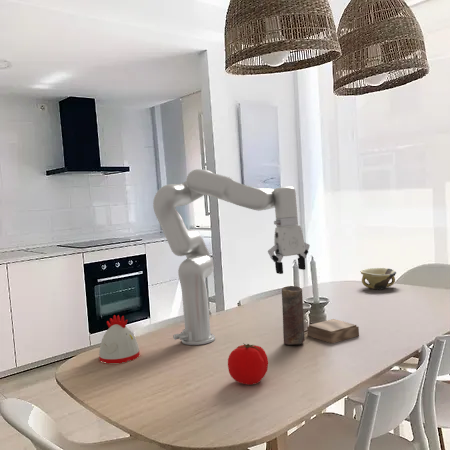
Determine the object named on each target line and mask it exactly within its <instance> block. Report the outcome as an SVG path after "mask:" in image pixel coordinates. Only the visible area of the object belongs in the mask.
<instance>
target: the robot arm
mask: <svg viewBox="0 0 450 450" xmlns="http://www.w3.org/2000/svg"><path fill="white" fill-rule="evenodd" d="M185 179H186V180H185V181H184V182H182V183H169V184H166V185H162V187H160V188H159V189H158V190H157V191H156V193H155V195H154V198H153V205H152V206H153V211H154V216H156V219H157V221H158V223H159V225H160V227H161V229H162V232H163V235H164V236H165V238H166V240H167V244H168V245H169V248H170V250H171V252H172V253H173V254H174V255H175V256H177V257H186V259H184V260H183V261H182V262H181V263H180V264H179V266H178V269H177V270H178V271H177V273H178V281H179V284H180V289H181V296H182V297H181V299H182V307H183V308H182V309H183V320H184V321H183V323H184V329H182V332H180V333H175V334H173V335H172V337H173V340H174V341H175V340H180V341H181V342H182V344H184V345H187V346H200V345H205V344H209V343H212V342H214V341H215V339H216V336H215V334H213V333H211V323H210V322H211V321H210V309H209V296H208V290H207V284H206V282H205V279H207V278H208V277H210V276H211V275H212V273H213V272H214V268H215V267H214V260H213V257H212V256H211V254H210V251H209V249H208V247H207V245H206V243H205V241H204V238H203V237H202V235H201V234H200V233H199V231H197V230H195V229H190V228H187V226H186V224H185V222H184V219H183V218H182V216H181V214H180V213H179V212H178V210H177V209H176V208H177V207H183V206H184V207H185V206H187V205H190V204H191V203H193V202H195V201H196V200H198V199H201V198H202V197H204V196H208V197H212V198H214V199H215V198H216V199H219V200H221V201H225V202H227V203H230V204H233V205H236V206H240V207H243V208H246V209H249V210H252V211H258V212H259V211H266V210H271V209H274V211H275V212H274V213H275V220H274V221H273V225H276V227H275V229H274V239H273V240H274V242H273V243H274V245H273V246H272V247H271V248H269V249H268V250H267V254H268V255H269V257H270V259H271V260H272V261H273V262H274V263H275V264H274V265H275V272H276V274H279V275H283V274H284V265H283V262H282V260H283V258H284V257H290V256H298V257H297V266H298V269H299V270H303V271H305V270H306V258H307V255H308V254H309V249H310V247H311V246H310V244H309V243H307V242H305V239H304V234H303V230H302V227H301V225H299V217H298V207H297V206H298V205H297V197H296V196H297V193H296V192H297V191H296V189H295V187H293V186H281V187H277V188H265V187H264V188H258V187H254V186H250V185H247V184H243V183H240V182H238V181H236V180H234V179H233V178H232V177H230V176H226V175H222V174H217V173H215V172H212V171H211V170H208V169H201V168H198V169H197V168H196V169H193V170H191V171H190V172H189V173H188V174H187V176H186V178H185Z"/></svg>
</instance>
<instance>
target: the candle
mask: <svg viewBox="0 0 450 450" xmlns="http://www.w3.org/2000/svg"><path fill="white" fill-rule="evenodd" d="M281 302H282V303H281V306H282V328H283V329H282V331H283V334H282V335H283V338H282V339H283V344H285V345H288V346H299V345H301V344H303V343H304V342H305V339H306V338H305V322H304V321H305V319H304V302H303V288H302V287H299V286H295V285H288V286H284V287H282V288H281Z"/></svg>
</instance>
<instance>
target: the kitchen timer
mask: <svg viewBox="0 0 450 450" xmlns="http://www.w3.org/2000/svg"><path fill="white" fill-rule="evenodd" d="M127 323H128V319H125V316H124V315H122V316H121V317H120V315H119V314H118V315H117V316H116V315H115V314H114V315H113V316H112V318H111V317H110V318H109V320H107V321H106V325H107V327H108V329H107V330H106V331H105V332H104V335H103V336H102V339H101V340H100V341H101V342H100V347H99V354H98V355H99V357H98V358H99V362H100V361H102V362H106V363H119V364H123V363H122V362H125V363H128V362H127V361H129V362H131V361H130V360H132V361H134V360H136V359H137V357H138V358H139V357H140V356H141V355H140V354H141V353H140V347H139V346H140V345H139V343H138V341H137V338H136V336H135V334H134V333H133V331H132V330H131V329H130V328H129V327H127ZM139 355H140V356H139ZM133 359H134V360H133ZM102 362H101V363H102Z"/></svg>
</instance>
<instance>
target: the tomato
mask: <svg viewBox="0 0 450 450" xmlns="http://www.w3.org/2000/svg"><path fill="white" fill-rule="evenodd" d="M268 359H269V358H268V355H267V353H266V351H265V350H264V349H263V347H261V346H259V345H255V344H249V343H247V344H245V343H243V344H241V345H239V346H236V347H235V348H234V349H233V350H232V351H231V352H230V353H229V355H228V359H227V369H228V373H229V374H230V377H231V378H232V380H234V381H236V382H237V383H239V384H243V385H247V386H248V385H249V386H250V385H257V384H258V383H260V382H261V380H263V378H264V377H265V376H266V374H267V372H268V366H269V360H268Z"/></svg>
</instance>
